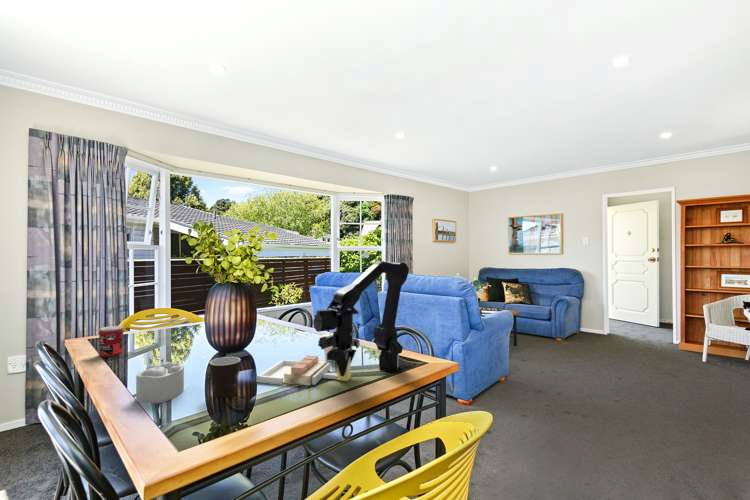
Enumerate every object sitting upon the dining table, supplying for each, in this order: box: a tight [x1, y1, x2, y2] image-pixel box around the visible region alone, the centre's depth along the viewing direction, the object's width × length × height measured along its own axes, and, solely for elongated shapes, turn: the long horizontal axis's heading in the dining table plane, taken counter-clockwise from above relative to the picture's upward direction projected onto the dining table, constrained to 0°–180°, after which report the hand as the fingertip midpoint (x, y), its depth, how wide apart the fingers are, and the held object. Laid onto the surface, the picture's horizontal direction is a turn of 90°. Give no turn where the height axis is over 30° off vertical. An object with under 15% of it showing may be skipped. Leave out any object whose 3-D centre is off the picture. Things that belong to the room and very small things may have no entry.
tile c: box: [291, 364, 307, 374], centre depth 121 cm, size 4×4×2 cm
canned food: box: [98, 325, 124, 358], centre depth 150 cm, size 8×8×11 cm
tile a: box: [303, 354, 319, 365], centre depth 131 cm, size 4×4×2 cm
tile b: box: [297, 359, 313, 369], centre depth 126 cm, size 4×4×2 cm
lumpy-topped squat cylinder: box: [135, 361, 185, 404], centre depth 110 cm, size 10×13×9 cm
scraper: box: [311, 357, 352, 386], centre depth 124 cm, size 10×15×7 cm
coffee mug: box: [209, 356, 241, 399], centre depth 111 cm, size 12×9×10 cm
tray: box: [256, 359, 300, 386], centre depth 128 cm, size 9×19×2 cm, turn 168°
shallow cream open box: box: [283, 360, 328, 386], centre depth 126 cm, size 9×16×3 cm, turn 168°
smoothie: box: [321, 330, 334, 362], centre depth 145 cm, size 6×6×14 cm
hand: (344, 374), depth 123 cm, fingers closed on scraper, 3 cm apart
